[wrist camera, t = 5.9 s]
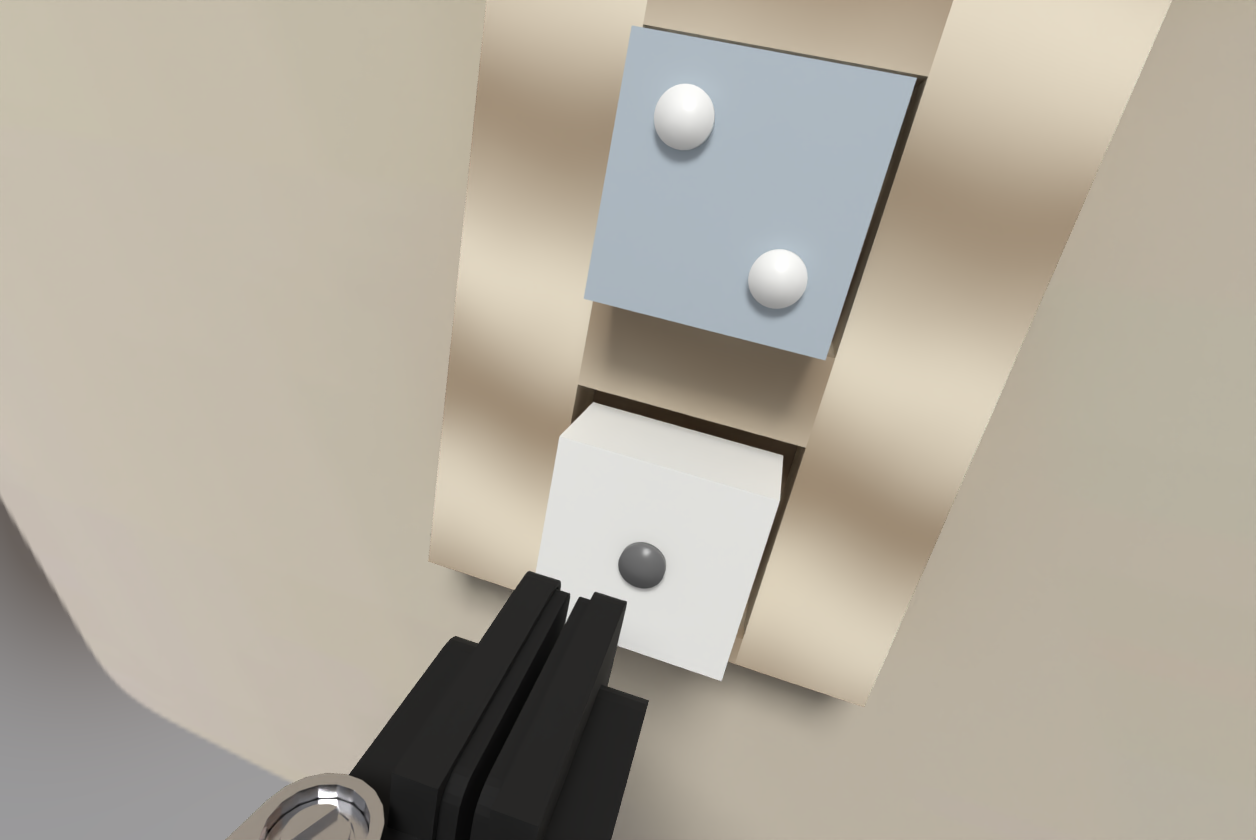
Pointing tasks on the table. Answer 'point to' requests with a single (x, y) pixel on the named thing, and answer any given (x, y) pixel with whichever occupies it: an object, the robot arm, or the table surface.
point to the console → (759, 374)
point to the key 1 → (660, 530)
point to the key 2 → (741, 187)
